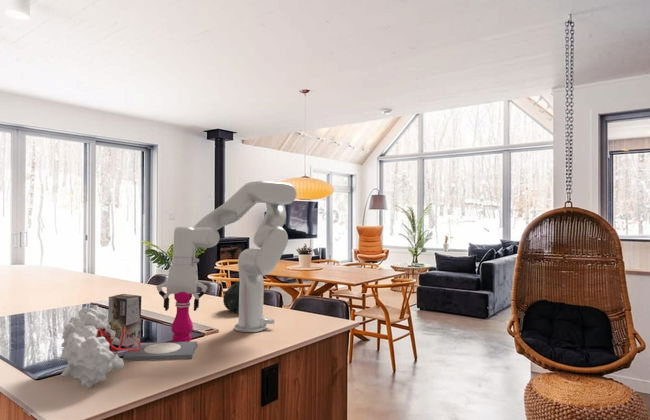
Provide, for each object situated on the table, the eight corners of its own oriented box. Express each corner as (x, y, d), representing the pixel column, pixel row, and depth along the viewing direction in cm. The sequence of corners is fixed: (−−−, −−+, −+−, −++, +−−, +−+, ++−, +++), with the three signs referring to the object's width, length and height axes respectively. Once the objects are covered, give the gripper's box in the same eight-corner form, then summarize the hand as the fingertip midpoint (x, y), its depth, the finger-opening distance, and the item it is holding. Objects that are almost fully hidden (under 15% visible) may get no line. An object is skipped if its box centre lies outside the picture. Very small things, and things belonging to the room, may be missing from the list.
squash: (250, 295, 210) (233, 274, 204) (266, 301, 199) (248, 279, 192) (230, 316, 203) (211, 295, 197) (245, 324, 192) (226, 302, 185)
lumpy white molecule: (134, 393, 122) (97, 332, 134) (162, 347, 118) (120, 287, 129) (62, 418, 105) (26, 345, 117) (91, 364, 101) (51, 294, 112)
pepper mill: (195, 338, 154) (197, 282, 154) (187, 343, 146) (189, 285, 147) (176, 337, 154) (178, 282, 155) (167, 342, 147) (169, 285, 147)
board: (197, 344, 145) (197, 340, 145) (191, 358, 132) (191, 353, 132) (135, 346, 142) (135, 342, 142) (123, 360, 128) (123, 356, 128)
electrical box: (141, 342, 147) (142, 295, 147) (125, 347, 141) (126, 298, 141) (122, 338, 151) (124, 293, 151) (106, 343, 145) (108, 296, 145)
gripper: (209, 261, 156) (207, 308, 155) (160, 260, 153) (157, 307, 152) (207, 263, 149) (205, 312, 148) (155, 261, 146) (153, 312, 145)
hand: (181, 309), depth 150 cm, fingers open, 9 cm apart
